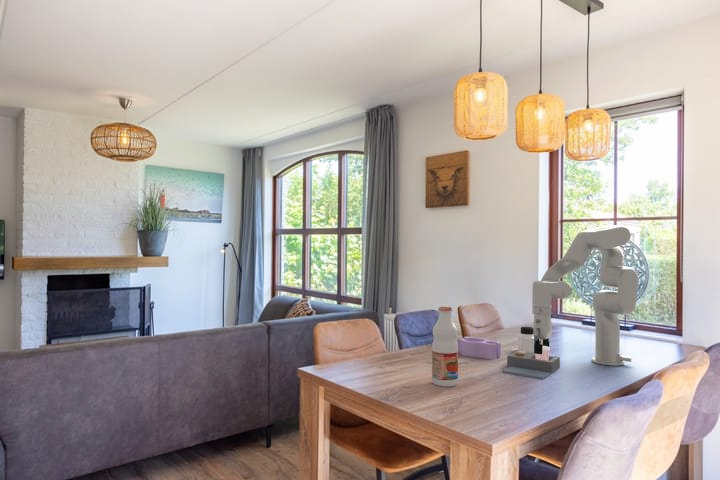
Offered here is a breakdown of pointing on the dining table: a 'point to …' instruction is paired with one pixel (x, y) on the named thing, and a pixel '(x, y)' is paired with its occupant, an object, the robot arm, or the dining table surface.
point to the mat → (526, 372)
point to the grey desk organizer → (533, 362)
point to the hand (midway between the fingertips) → (541, 351)
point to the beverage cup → (543, 353)
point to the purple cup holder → (479, 347)
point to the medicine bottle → (526, 340)
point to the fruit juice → (445, 350)
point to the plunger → (520, 352)
